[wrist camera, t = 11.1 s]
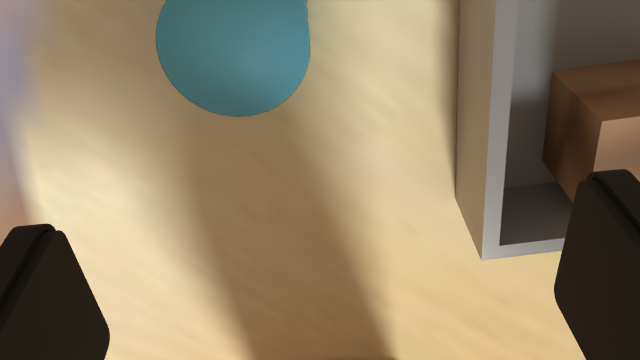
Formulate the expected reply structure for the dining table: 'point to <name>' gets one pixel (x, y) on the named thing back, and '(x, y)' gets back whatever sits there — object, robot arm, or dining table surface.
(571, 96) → the cube
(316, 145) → the dining table surface
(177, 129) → the dining table surface
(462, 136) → the tote
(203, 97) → the cylinder
